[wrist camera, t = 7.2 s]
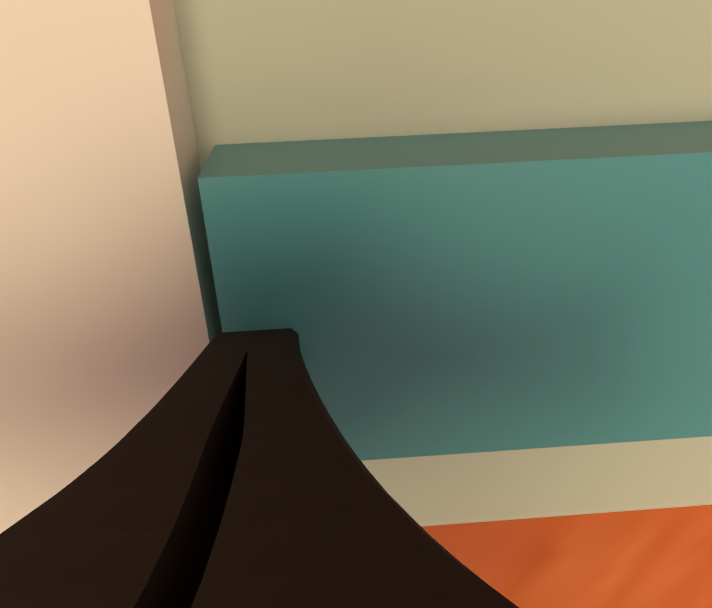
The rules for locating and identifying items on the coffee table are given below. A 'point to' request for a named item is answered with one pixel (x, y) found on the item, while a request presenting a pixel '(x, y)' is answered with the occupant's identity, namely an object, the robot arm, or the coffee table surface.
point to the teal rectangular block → (479, 281)
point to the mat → (463, 115)
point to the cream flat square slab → (93, 235)
